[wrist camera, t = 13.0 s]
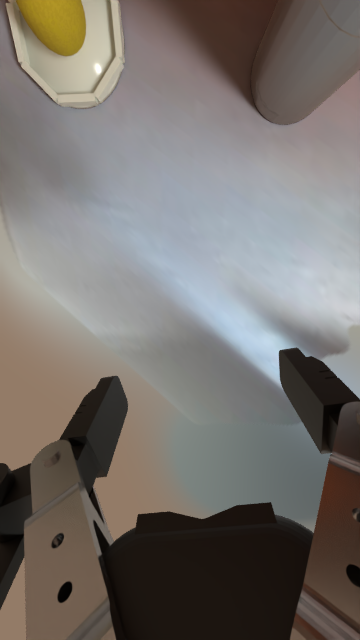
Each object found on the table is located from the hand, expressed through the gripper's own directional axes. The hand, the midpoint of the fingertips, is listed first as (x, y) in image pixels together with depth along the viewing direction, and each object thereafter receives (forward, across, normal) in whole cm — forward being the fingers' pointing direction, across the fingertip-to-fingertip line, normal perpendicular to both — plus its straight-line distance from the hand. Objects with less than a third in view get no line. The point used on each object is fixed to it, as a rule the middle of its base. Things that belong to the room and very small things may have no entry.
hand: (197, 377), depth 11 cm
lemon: (+26, +8, -28) cm, 39 cm away
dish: (+26, +8, -28) cm, 39 cm away
